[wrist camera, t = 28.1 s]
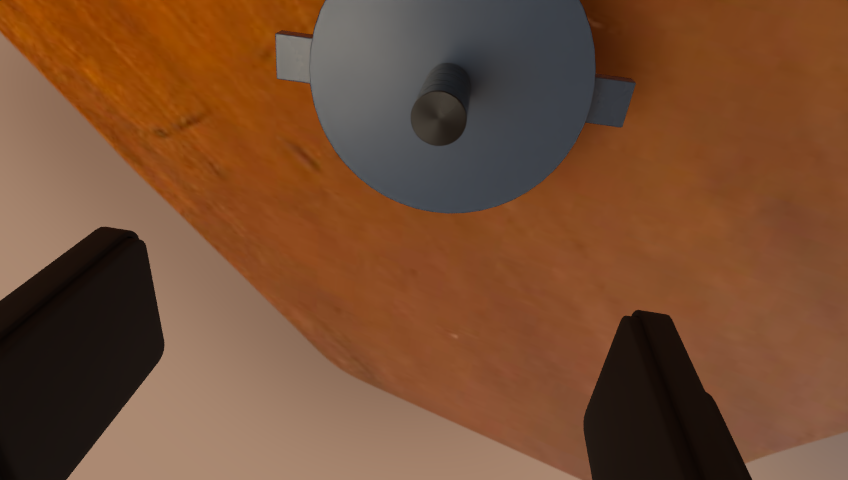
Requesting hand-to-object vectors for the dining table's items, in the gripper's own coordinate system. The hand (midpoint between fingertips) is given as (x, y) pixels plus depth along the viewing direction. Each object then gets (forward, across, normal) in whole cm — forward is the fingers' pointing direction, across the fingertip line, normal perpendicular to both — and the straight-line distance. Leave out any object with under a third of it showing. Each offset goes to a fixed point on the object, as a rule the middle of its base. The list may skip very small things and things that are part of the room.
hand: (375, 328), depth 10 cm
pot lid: (+20, 0, 0) cm, 20 cm away
